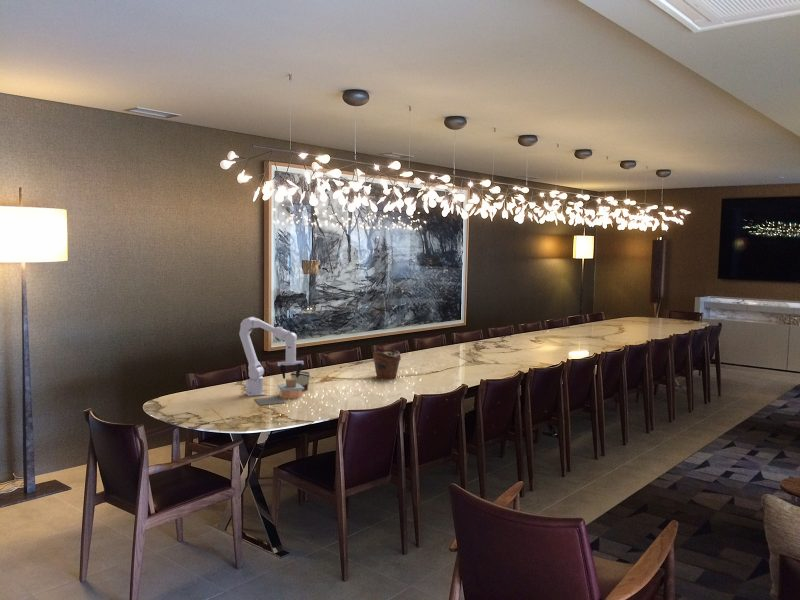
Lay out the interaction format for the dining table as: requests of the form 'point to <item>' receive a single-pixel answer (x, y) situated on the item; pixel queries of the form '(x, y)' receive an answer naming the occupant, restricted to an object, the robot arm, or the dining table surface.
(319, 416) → the dining table surface
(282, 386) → the lid
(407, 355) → the dining table surface
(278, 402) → the mat
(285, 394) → the bowl
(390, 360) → the brown pot
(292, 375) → the food container
